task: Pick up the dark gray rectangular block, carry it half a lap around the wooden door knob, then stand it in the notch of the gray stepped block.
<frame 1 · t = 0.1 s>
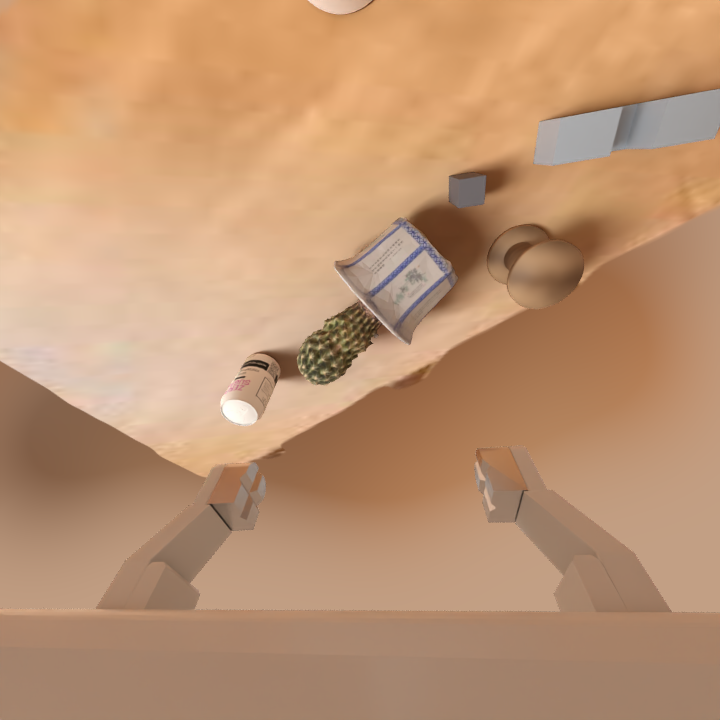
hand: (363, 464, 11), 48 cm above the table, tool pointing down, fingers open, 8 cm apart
wooden door knob: (516, 255, 52), on the table
potted plant: (366, 290, 58), on the table
dark gray rectangular block: (460, 187, 47), on the table
supplement can: (263, 365, 69), on the table
gray stepped block: (607, 130, 42), on the table
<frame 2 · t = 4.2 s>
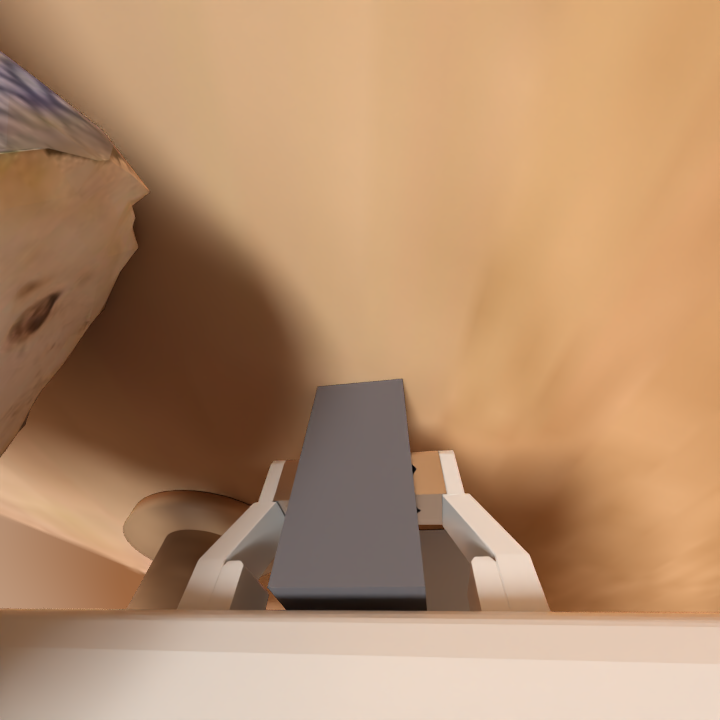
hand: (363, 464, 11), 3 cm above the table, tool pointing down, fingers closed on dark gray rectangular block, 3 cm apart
wooden door knob: (211, 532, 20), on the table
dark gray rectangular block: (365, 413, 13), on the table, touching gripper
gray stepped block: (451, 588, 24), on the table
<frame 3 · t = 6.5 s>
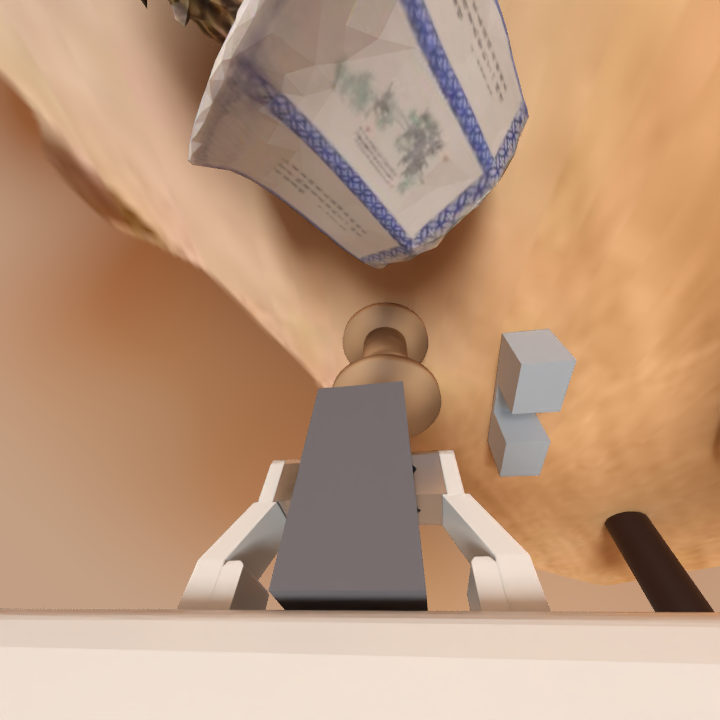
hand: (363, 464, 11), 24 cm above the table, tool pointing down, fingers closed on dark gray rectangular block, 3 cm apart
wooden door knob: (384, 340, 36), on the table
potted plant: (302, 25, 21), on the table
dark gray rectangular block: (366, 415, 13), point 22 cm above the table, touching gripper
bottle: (624, 519, 56), on the table
gray stepped block: (513, 393, 40), on the table
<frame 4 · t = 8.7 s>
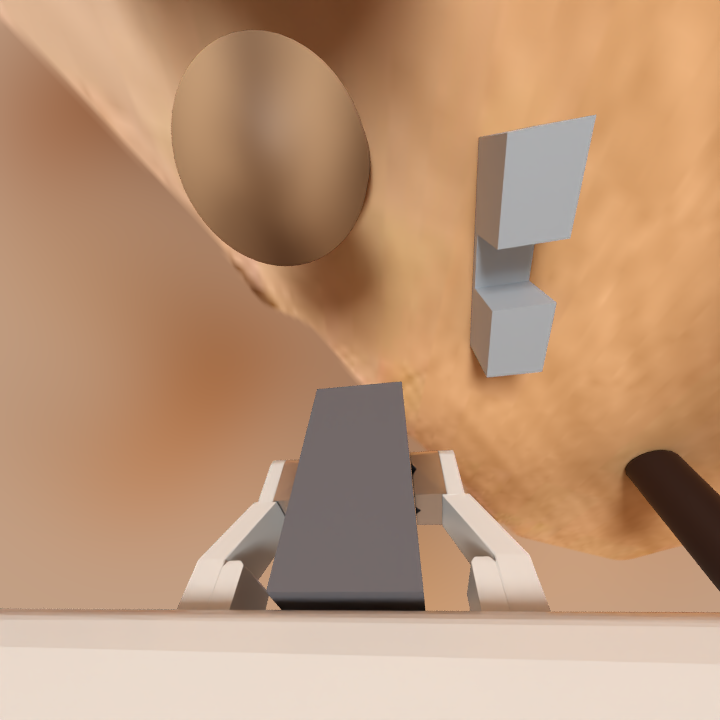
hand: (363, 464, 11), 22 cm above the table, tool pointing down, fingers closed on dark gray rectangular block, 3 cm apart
wooden door knob: (309, 164, 25), on the table
dark gray rectangular block: (364, 415, 13), point 20 cm above the table, touching gripper
bottle: (649, 462, 44), on the table
gray stepped block: (501, 256, 28), on the table
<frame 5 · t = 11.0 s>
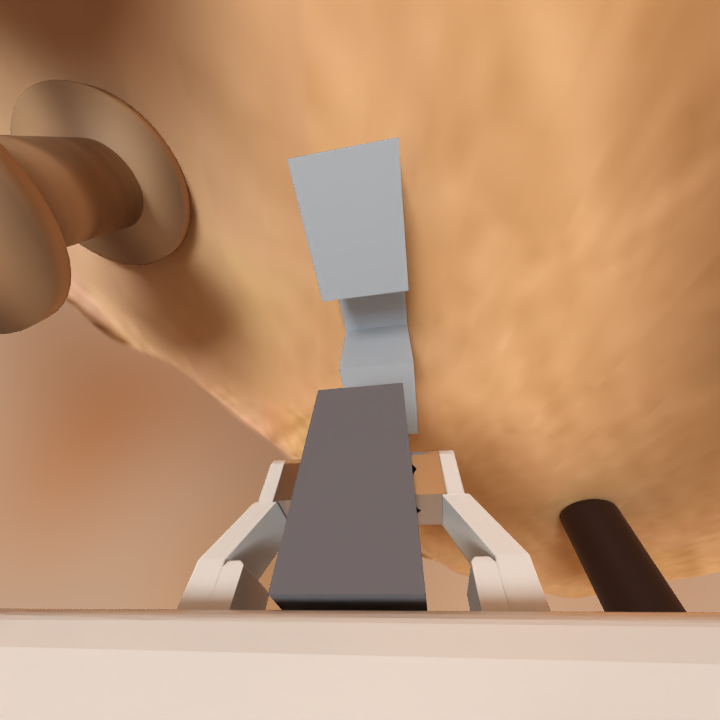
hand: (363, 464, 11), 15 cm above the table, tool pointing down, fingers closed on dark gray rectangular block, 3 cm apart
wooden door knob: (113, 184, 20), on the table
dark gray rectangular block: (365, 416, 13), point 13 cm above the table, touching gripper
bottle: (585, 510, 40), on the table
gray stepped block: (372, 294, 23), on the table
when the fingers open (5 cm above the table, at t = 13.1 s): dark gray rectangular block drops 2 cm, resting on gray stepped block.
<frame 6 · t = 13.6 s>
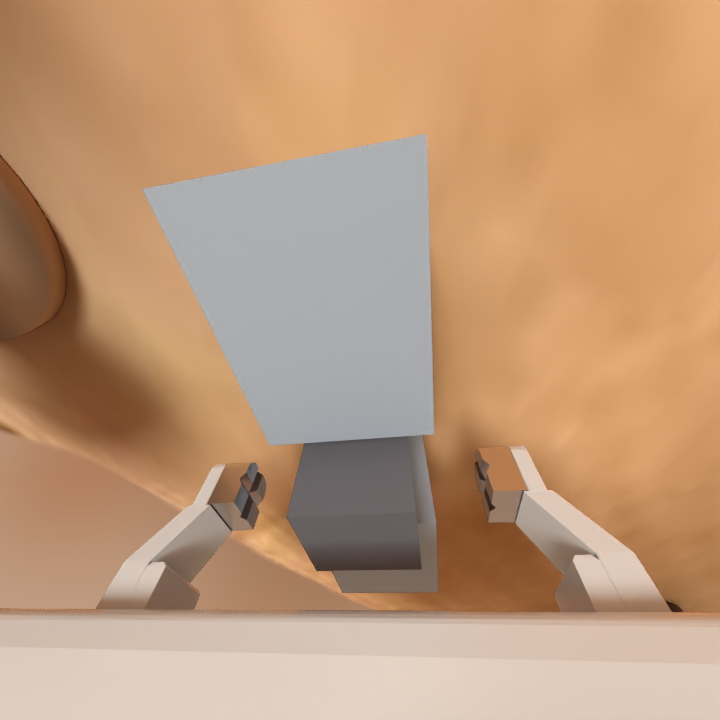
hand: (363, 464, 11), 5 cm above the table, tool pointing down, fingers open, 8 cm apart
dark gray rectangular block: (366, 390, 15), point 1 cm above the table, touching gray stepped block
gray stepped block: (366, 379, 15), on the table
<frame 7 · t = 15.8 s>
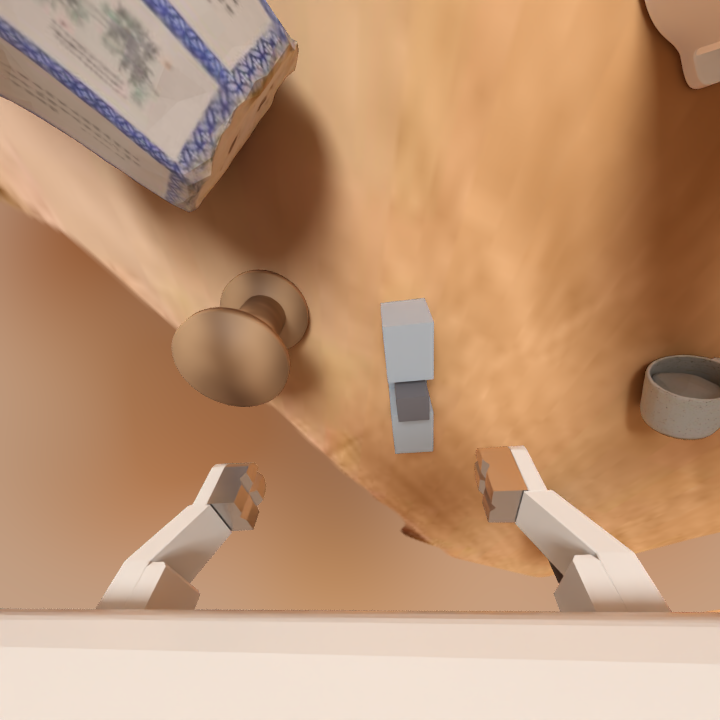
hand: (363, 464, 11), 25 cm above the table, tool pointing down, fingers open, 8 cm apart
wooden door knob: (266, 311, 36), on the table
dark gray rectangular block: (406, 372, 39), point 1 cm above the table, touching gray stepped block
ceramic mug: (670, 374, 39), on the table
gray stepped block: (406, 368, 40), on the table
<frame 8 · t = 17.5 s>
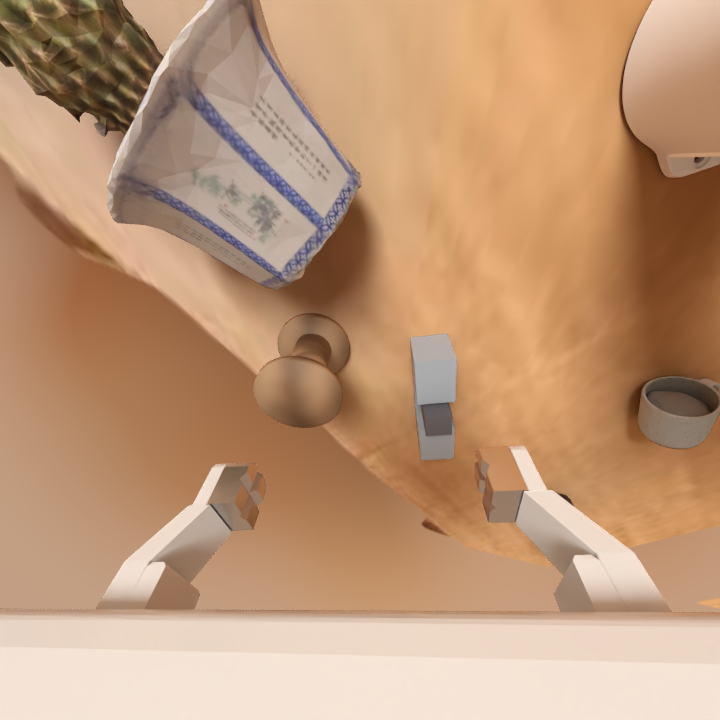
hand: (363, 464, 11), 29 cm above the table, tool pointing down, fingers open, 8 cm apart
wooden door knob: (314, 345, 43), on the table
potted plant: (214, 107, 28), on the table
dark gray rectangular block: (431, 392, 46), point 1 cm above the table, touching gray stepped block
ceramic mug: (664, 391, 45), on the table
gray stepped block: (430, 388, 46), on the table
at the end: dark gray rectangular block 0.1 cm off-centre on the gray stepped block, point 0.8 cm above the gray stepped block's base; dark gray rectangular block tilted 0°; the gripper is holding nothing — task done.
